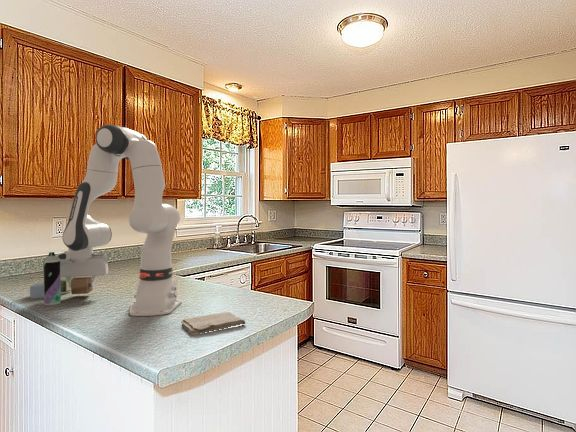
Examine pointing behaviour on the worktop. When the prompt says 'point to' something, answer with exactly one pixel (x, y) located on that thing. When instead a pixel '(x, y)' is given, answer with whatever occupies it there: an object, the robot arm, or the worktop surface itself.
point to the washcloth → (211, 322)
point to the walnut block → (81, 285)
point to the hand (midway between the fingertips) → (82, 287)
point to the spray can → (52, 280)
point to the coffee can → (65, 285)
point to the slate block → (37, 290)
